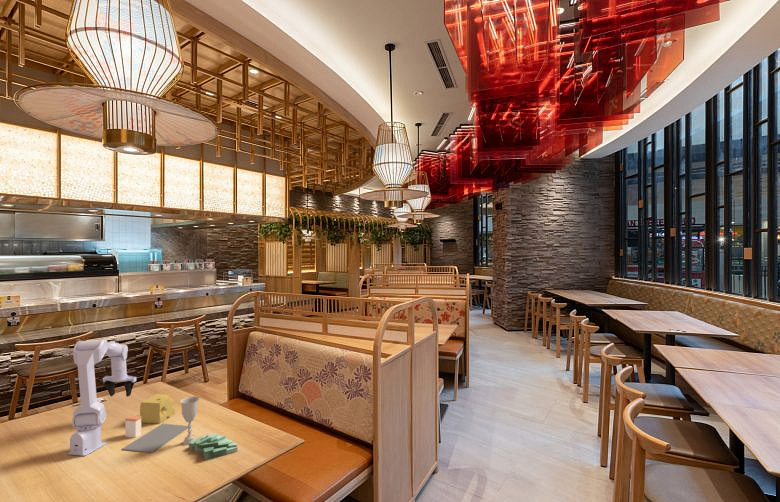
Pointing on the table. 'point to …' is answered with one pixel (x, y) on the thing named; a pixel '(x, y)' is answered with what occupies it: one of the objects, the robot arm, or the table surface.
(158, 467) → the table surface
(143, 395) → the table surface
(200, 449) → the money
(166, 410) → the cheese
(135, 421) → the cream block
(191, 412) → the chalice
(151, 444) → the slate mat
